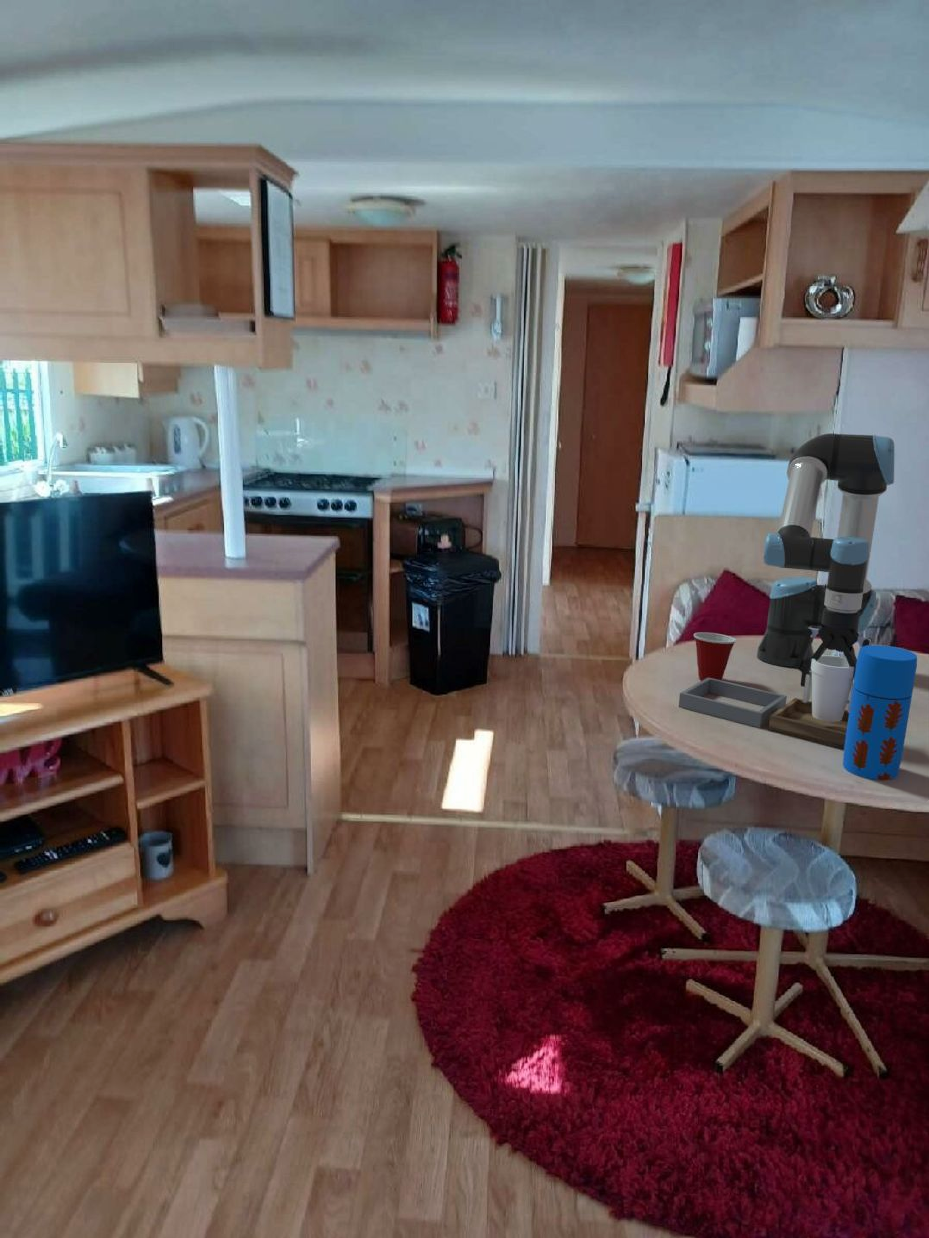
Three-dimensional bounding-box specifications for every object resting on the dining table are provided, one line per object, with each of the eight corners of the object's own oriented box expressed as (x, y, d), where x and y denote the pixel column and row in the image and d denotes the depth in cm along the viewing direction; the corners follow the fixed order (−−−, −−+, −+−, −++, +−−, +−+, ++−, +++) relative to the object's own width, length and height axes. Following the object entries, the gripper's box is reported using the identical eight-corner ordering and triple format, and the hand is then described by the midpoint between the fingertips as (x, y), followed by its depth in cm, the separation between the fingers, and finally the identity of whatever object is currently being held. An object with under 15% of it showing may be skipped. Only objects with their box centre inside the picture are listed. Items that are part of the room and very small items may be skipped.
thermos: (909, 780, 189) (929, 661, 183) (857, 780, 188) (875, 660, 182) (881, 758, 200) (899, 644, 193) (832, 758, 199) (849, 644, 192)
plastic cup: (738, 679, 248) (743, 635, 245) (720, 689, 240) (725, 644, 237) (700, 670, 255) (705, 627, 252) (681, 679, 247) (686, 635, 244)
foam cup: (852, 726, 207) (860, 669, 204) (808, 722, 209) (815, 665, 206) (844, 711, 216) (852, 657, 213) (802, 707, 218) (809, 653, 215)
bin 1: (706, 690, 239) (708, 677, 238) (785, 709, 227) (786, 695, 226) (678, 706, 226) (679, 693, 226) (759, 727, 215) (761, 713, 214)
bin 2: (793, 711, 226) (795, 697, 225) (881, 733, 214) (883, 718, 213) (768, 730, 214) (770, 715, 213) (860, 753, 202) (862, 738, 201)
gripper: (786, 603, 210) (774, 698, 216) (890, 621, 197) (874, 722, 203) (797, 597, 216) (786, 690, 221) (899, 614, 203) (884, 713, 209)
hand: (828, 706), depth 212 cm, fingers closed on foam cup, 9 cm apart
